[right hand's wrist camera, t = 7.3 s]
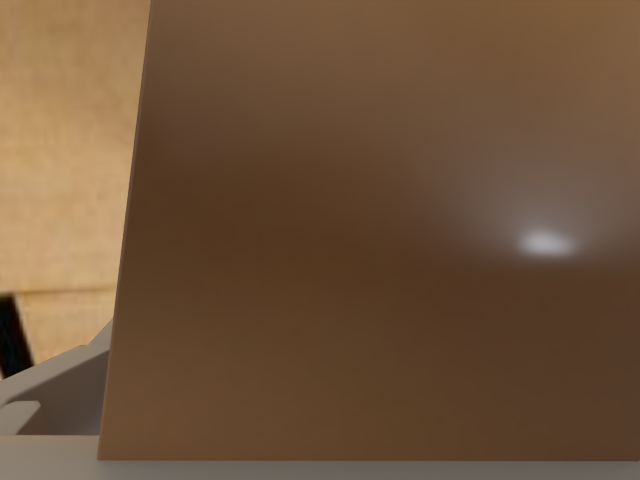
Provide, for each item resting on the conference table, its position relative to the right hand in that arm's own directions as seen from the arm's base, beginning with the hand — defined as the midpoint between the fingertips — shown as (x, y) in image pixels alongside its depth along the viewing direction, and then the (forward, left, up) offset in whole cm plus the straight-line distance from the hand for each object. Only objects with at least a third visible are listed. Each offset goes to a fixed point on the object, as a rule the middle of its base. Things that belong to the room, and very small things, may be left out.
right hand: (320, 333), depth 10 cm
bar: (+6, +6, -3) cm, 9 cm away
